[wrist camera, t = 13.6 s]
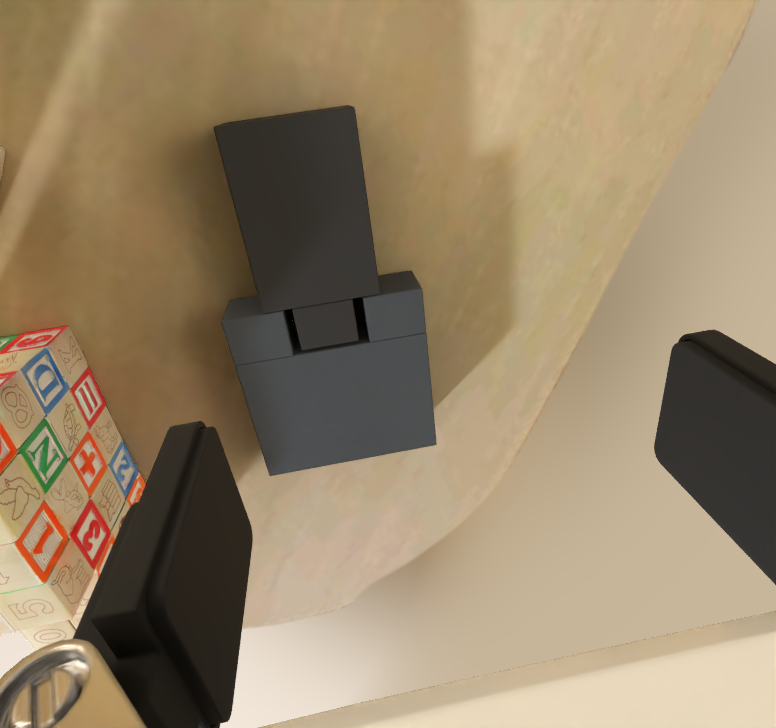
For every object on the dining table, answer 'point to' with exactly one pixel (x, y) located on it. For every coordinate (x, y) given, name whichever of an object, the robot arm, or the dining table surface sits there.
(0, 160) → the box
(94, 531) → the stack of blocks
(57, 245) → the dining table surface
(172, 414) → the dining table surface
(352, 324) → the black tabbed block
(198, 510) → the robot arm
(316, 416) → the grey block
